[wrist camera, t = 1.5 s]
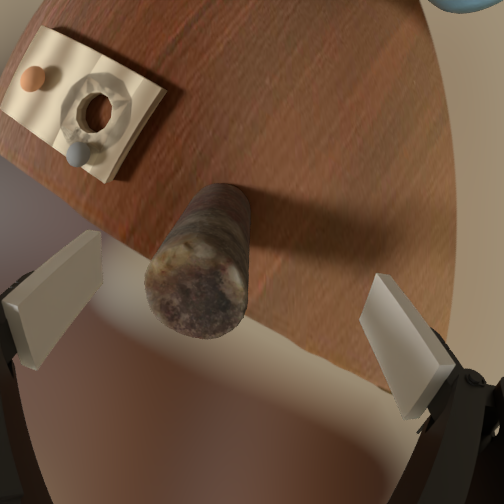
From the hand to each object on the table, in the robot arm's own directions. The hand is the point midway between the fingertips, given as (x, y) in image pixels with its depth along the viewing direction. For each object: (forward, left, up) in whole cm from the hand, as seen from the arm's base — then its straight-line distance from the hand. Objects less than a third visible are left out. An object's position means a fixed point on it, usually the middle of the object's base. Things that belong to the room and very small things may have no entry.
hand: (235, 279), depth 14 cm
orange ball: (-18, -25, -20) cm, 37 cm away
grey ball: (-7, -19, -21) cm, 29 cm away
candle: (+3, -3, -25) cm, 25 cm away
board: (-15, -20, -24) cm, 35 cm away
